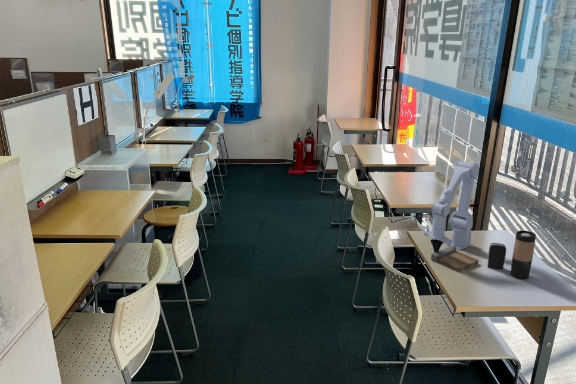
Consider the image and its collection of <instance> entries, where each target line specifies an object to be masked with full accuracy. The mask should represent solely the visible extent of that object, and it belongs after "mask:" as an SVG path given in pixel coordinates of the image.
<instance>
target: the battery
mask: <svg viewBox="0 0 576 384" xmlns="http://www.w3.org/2000/svg"><path fill="white" fill-rule="evenodd" d="M506 255H507V247H506V245H505V244H503V243H499V242H498V243H497V242H492V243H490V244H489V247H488V257H487V266H486V267H487V268H493V269H499V270H500V269H501V270H503V269H504V266H505V265H504V264H505V260H506Z"/></svg>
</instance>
